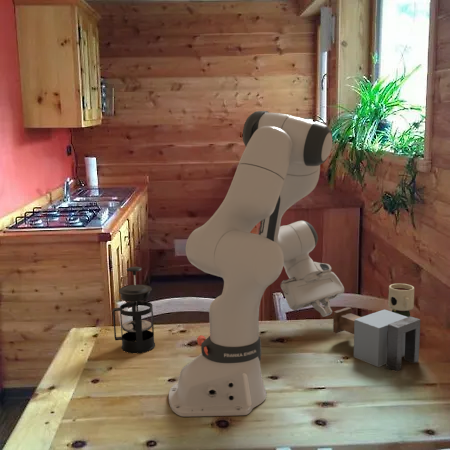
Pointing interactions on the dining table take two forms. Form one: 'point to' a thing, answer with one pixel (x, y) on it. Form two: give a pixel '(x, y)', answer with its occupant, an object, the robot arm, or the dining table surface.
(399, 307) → the character mug
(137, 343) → the french press
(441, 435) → the dining table surface
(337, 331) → the shaft
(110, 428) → the dining table surface
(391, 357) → the block
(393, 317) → the grey rectangular block
